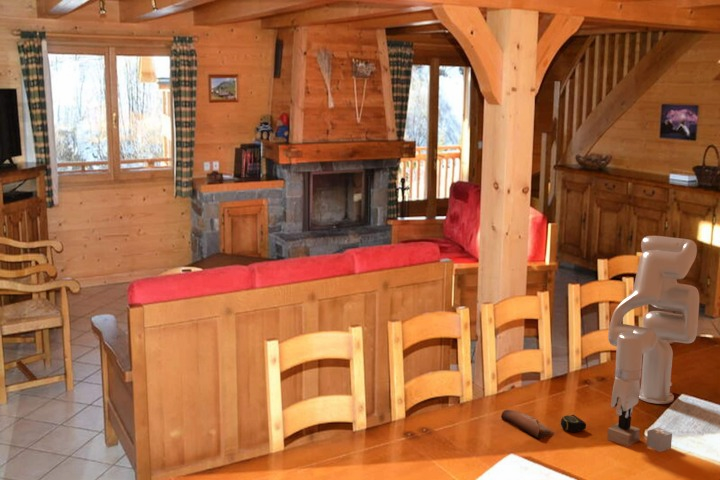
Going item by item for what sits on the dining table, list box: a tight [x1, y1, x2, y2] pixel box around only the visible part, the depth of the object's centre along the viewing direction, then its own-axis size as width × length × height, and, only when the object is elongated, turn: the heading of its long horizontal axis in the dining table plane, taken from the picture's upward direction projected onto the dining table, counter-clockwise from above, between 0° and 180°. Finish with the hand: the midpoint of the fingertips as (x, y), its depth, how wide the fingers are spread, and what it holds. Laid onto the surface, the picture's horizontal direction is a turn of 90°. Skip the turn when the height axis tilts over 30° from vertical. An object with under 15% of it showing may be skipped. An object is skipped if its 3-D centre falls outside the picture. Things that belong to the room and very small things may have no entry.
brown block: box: [607, 421, 641, 448], centre depth 237 cm, size 7×7×4 cm
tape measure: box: [560, 414, 587, 433], centre depth 244 cm, size 7×7×4 cm
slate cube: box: [646, 426, 673, 453], centre depth 232 cm, size 5×5×5 cm
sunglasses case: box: [500, 409, 556, 441], centre depth 246 cm, size 18×7×7 cm
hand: (624, 427), depth 237 cm, fingers closed
